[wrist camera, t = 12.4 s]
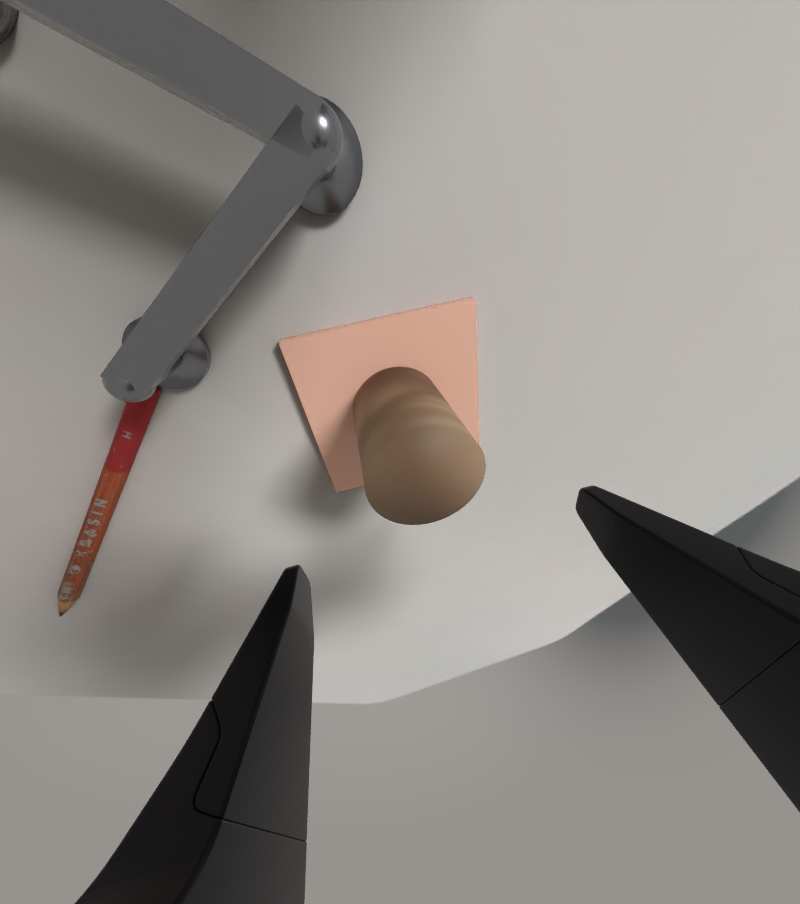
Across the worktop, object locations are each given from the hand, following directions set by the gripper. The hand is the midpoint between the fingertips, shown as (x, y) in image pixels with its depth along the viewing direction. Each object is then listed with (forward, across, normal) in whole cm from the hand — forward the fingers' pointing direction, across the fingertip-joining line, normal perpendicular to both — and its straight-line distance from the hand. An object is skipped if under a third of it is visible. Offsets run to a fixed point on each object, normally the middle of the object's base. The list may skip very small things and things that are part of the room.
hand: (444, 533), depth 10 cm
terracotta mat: (+9, 0, 0) cm, 9 cm away
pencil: (+10, +17, +2) cm, 20 cm away
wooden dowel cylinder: (+8, 0, 0) cm, 9 cm away
